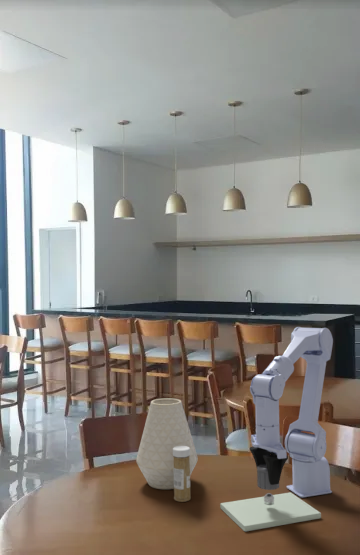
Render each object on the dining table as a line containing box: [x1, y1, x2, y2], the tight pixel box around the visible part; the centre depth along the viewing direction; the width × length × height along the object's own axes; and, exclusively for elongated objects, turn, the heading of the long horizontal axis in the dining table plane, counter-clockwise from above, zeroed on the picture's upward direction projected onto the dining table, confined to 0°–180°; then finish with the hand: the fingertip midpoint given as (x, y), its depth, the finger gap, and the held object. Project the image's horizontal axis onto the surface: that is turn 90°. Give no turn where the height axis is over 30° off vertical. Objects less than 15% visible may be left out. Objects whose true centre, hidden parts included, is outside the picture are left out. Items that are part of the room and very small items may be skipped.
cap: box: [256, 464, 280, 491], centre depth 132 cm, size 5×5×4 cm
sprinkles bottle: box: [173, 446, 192, 503], centre depth 142 cm, size 5×5×14 cm
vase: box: [136, 397, 199, 491], centre depth 154 cm, size 17×17×23 cm
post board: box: [219, 491, 322, 532], centre depth 132 cm, size 20×14×5 cm
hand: (268, 479), depth 132 cm, fingers closed on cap, 5 cm apart
